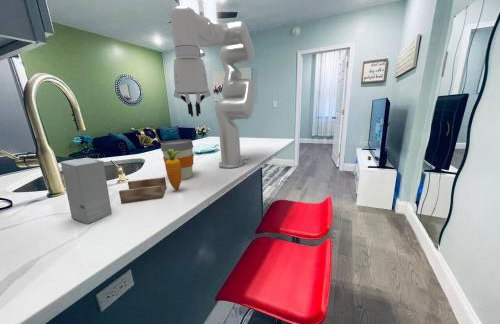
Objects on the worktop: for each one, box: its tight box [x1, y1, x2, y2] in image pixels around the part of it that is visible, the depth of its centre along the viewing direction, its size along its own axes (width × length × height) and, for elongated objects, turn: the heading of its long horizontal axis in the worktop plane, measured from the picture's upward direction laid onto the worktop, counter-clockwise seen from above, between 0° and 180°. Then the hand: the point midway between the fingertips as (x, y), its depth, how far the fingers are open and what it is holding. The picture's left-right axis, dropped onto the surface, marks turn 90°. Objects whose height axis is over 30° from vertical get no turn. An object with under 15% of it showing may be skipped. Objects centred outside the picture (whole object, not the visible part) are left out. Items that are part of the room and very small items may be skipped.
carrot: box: [164, 149, 182, 192], centre depth 71 cm, size 5×5×15 cm
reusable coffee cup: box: [160, 139, 194, 181], centre depth 86 cm, size 13×13×15 cm
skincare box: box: [60, 157, 113, 225], centre depth 55 cm, size 8×7×16 cm
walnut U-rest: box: [118, 176, 167, 205], centre depth 70 cm, size 12×10×4 cm
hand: (195, 116), depth 68 cm, fingers closed
